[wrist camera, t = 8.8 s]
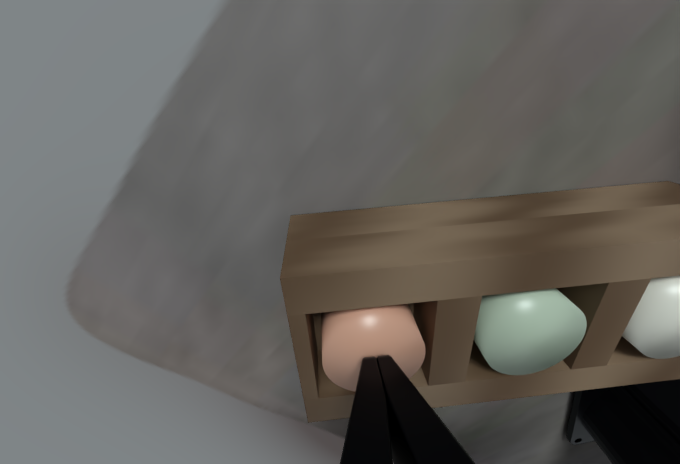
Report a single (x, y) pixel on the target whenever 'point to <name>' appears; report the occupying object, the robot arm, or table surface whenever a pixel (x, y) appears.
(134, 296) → the table surface
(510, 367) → the sage egg
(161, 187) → the table surface
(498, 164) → the table surface
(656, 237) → the wooden egg tray
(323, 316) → the peach oval piece
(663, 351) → the white rounded piece
